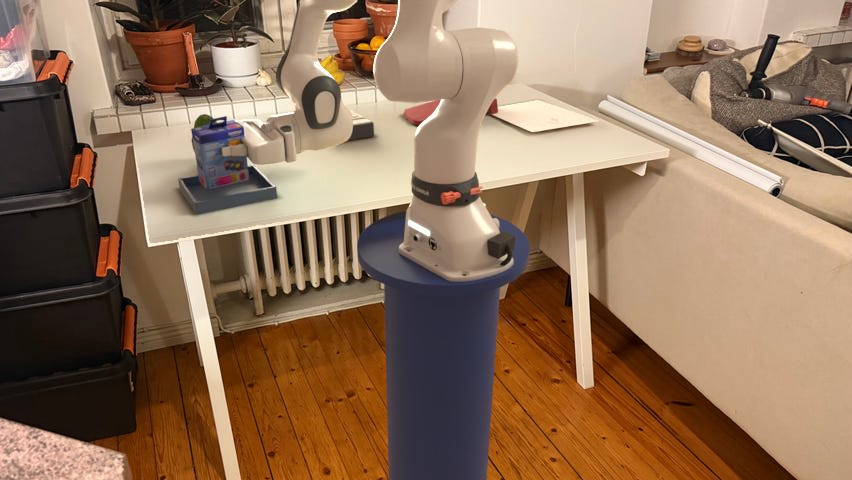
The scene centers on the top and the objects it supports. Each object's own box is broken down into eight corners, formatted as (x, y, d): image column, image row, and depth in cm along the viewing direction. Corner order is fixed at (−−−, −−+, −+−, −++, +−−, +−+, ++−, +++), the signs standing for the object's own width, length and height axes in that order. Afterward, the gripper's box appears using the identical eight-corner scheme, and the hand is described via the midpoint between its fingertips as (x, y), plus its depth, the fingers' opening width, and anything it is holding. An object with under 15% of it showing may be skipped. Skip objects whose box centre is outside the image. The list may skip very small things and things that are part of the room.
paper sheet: (522, 136, 179) (523, 132, 179) (476, 110, 204) (476, 106, 203) (603, 125, 185) (603, 121, 184) (548, 101, 210) (548, 97, 209)
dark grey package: (351, 108, 192) (374, 119, 180) (352, 123, 194) (374, 136, 182) (313, 113, 188) (334, 126, 176) (315, 129, 190) (335, 142, 178)
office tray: (277, 197, 148) (276, 186, 147) (196, 214, 141) (194, 203, 140) (255, 175, 160) (254, 164, 158) (179, 189, 153) (177, 178, 152)
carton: (418, 139, 190) (501, 114, 195) (416, 122, 188) (499, 97, 192) (403, 126, 200) (482, 103, 205) (400, 110, 198) (480, 86, 202)
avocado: (190, 168, 164) (182, 118, 158) (202, 157, 171) (195, 108, 165) (223, 169, 163) (216, 119, 157) (233, 158, 170) (227, 109, 164)
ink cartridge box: (207, 191, 145) (196, 123, 138) (198, 183, 149) (187, 117, 142) (251, 180, 150) (243, 114, 142) (241, 172, 154) (232, 108, 146)
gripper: (263, 109, 157) (202, 118, 152) (295, 134, 141) (228, 146, 136) (266, 136, 160) (206, 146, 155) (298, 164, 144) (232, 176, 139)
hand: (217, 146), depth 145 cm, fingers closed on ink cartridge box, 5 cm apart
